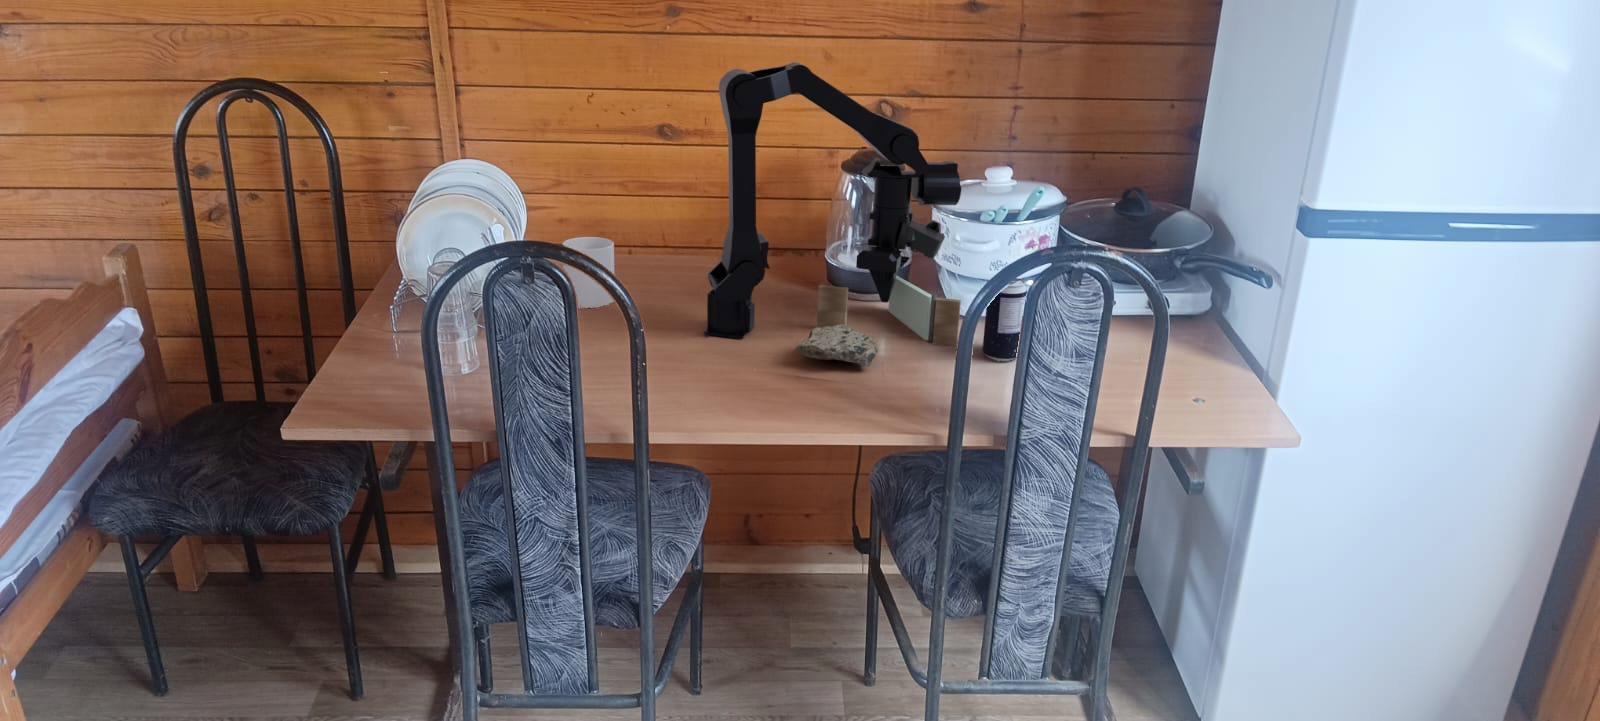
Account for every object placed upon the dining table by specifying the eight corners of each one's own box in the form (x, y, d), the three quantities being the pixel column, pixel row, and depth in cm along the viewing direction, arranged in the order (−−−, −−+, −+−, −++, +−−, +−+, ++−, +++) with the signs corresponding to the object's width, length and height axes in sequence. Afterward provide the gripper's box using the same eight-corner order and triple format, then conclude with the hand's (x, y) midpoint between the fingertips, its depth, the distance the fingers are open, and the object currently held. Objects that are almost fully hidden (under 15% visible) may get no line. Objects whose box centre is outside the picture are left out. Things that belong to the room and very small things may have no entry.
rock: (858, 374, 162) (859, 345, 160) (789, 362, 167) (789, 334, 165) (889, 356, 170) (890, 328, 169) (822, 345, 176) (823, 318, 174)
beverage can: (1022, 354, 175) (1030, 278, 171) (1016, 366, 170) (1024, 288, 166) (985, 349, 176) (992, 273, 172) (978, 360, 171) (985, 283, 167)
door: (888, 316, 188) (890, 275, 186) (893, 316, 189) (896, 275, 186) (925, 340, 178) (928, 297, 175) (930, 339, 178) (934, 296, 176)
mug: (580, 288, 199) (579, 230, 196) (627, 292, 198) (626, 233, 195) (557, 308, 188) (555, 247, 184) (606, 312, 187) (605, 251, 183)
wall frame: (816, 332, 181) (818, 283, 178) (818, 330, 182) (820, 281, 179) (955, 349, 176) (960, 299, 173) (956, 346, 177) (961, 297, 174)
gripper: (932, 221, 168) (924, 323, 173) (952, 200, 185) (944, 293, 190) (858, 214, 171) (852, 315, 176) (884, 193, 188) (878, 286, 193)
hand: (884, 302), depth 184 cm, fingers closed
